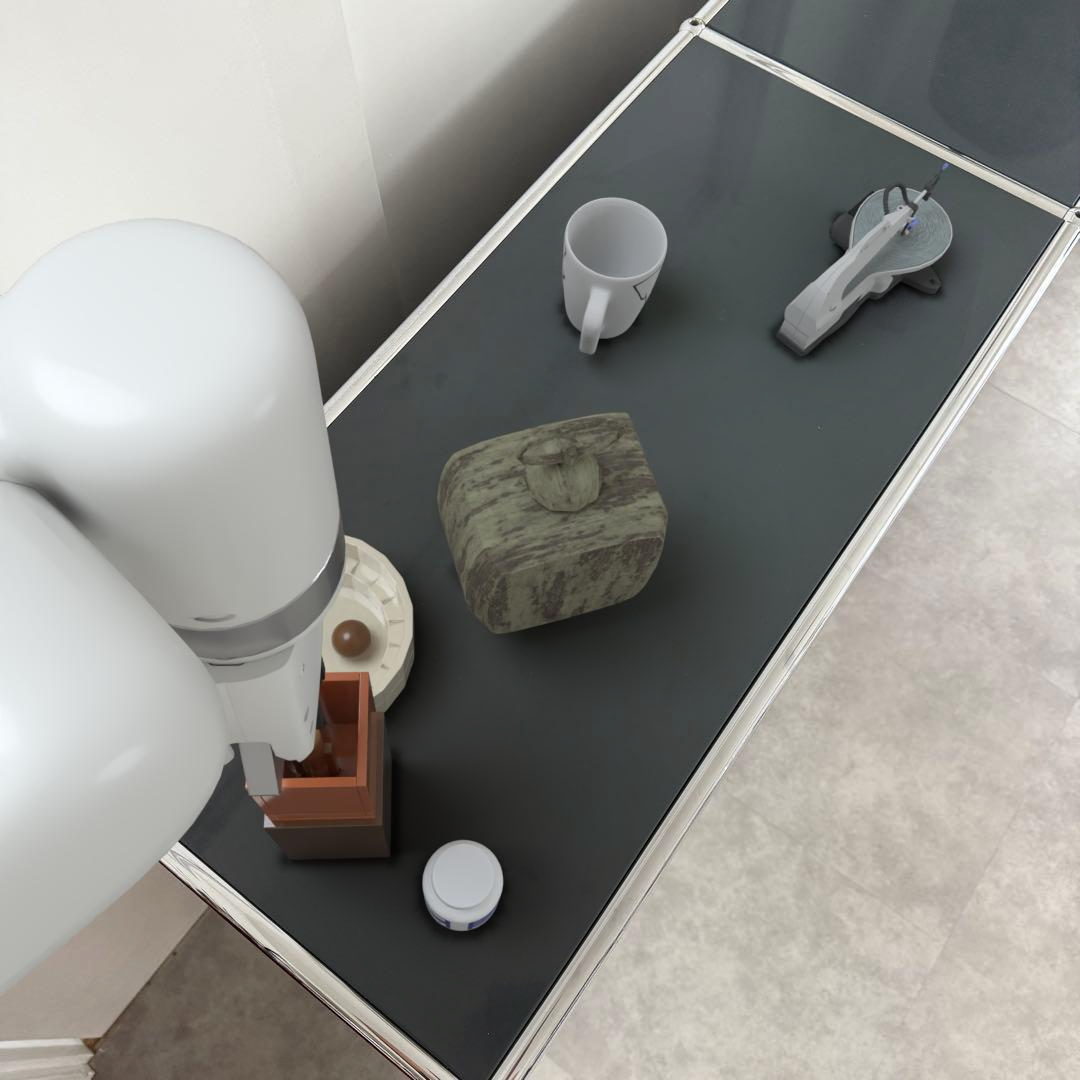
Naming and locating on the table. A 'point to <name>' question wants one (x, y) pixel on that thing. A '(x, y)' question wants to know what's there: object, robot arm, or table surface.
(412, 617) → the bowl
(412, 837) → the table surface
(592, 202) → the mug
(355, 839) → the brown boxy piece
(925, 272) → the jigsaw machine
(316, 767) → the stirring stick
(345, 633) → the brown ball
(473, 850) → the pill bottle
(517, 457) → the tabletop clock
